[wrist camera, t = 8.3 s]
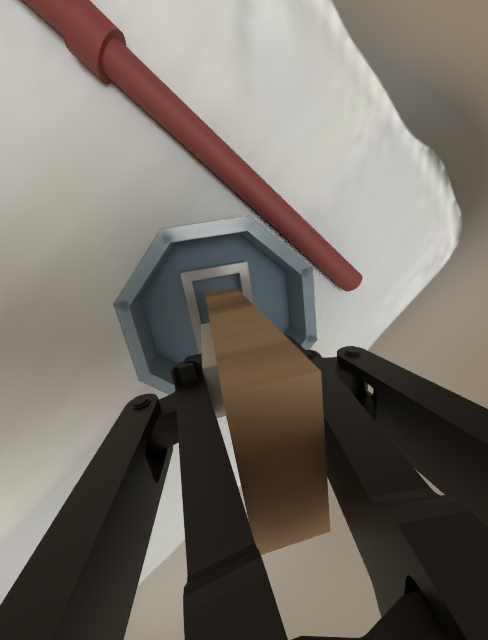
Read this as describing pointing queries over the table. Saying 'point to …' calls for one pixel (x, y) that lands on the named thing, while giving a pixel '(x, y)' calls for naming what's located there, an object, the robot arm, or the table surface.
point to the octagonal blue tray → (208, 276)
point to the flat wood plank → (271, 422)
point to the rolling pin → (184, 125)
